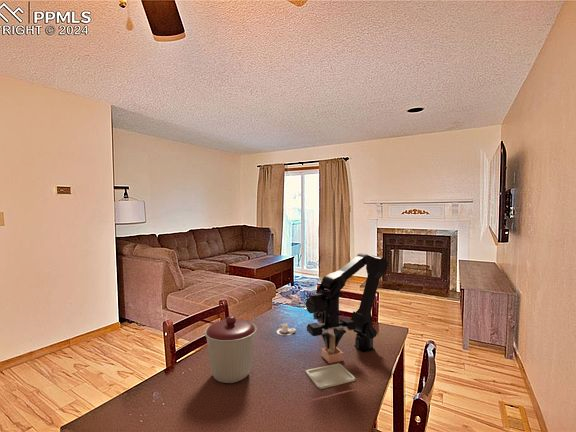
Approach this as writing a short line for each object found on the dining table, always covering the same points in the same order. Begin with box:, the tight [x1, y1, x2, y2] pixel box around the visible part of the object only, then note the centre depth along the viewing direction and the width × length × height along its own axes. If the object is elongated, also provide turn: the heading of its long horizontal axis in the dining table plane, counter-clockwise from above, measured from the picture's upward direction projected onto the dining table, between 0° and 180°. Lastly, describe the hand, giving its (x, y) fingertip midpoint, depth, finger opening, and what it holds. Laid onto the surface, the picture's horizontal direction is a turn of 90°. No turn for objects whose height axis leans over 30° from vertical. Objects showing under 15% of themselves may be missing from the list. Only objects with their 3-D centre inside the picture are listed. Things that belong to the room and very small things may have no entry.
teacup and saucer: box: [276, 322, 297, 336], centre depth 148 cm, size 9×8×4 cm
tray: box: [304, 362, 357, 390], centre depth 109 cm, size 14×11×1 cm
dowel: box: [327, 333, 335, 354], centre depth 122 cm, size 3×3×9 cm
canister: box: [203, 315, 258, 384], centre depth 110 cm, size 18×18×21 cm
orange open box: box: [321, 346, 344, 364], centre depth 122 cm, size 6×6×4 cm
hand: (331, 348), depth 122 cm, fingers closed on dowel, 3 cm apart
